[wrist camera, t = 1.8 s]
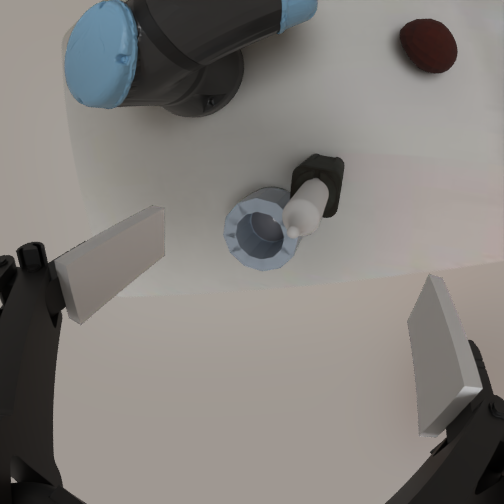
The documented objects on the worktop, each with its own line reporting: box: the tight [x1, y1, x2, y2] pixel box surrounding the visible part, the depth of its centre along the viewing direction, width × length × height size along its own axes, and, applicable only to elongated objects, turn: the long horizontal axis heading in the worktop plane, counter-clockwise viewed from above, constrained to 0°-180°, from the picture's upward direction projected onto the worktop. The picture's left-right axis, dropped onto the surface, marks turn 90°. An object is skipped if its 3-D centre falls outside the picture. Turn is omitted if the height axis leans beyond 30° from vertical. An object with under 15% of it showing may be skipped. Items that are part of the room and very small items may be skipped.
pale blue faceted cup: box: [223, 187, 302, 271], centre depth 43 cm, size 10×10×8 cm
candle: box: [282, 154, 344, 239], centre depth 30 cm, size 5×5×25 cm
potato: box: [400, 19, 457, 73], centre depth 25 cm, size 8×8×8 cm
